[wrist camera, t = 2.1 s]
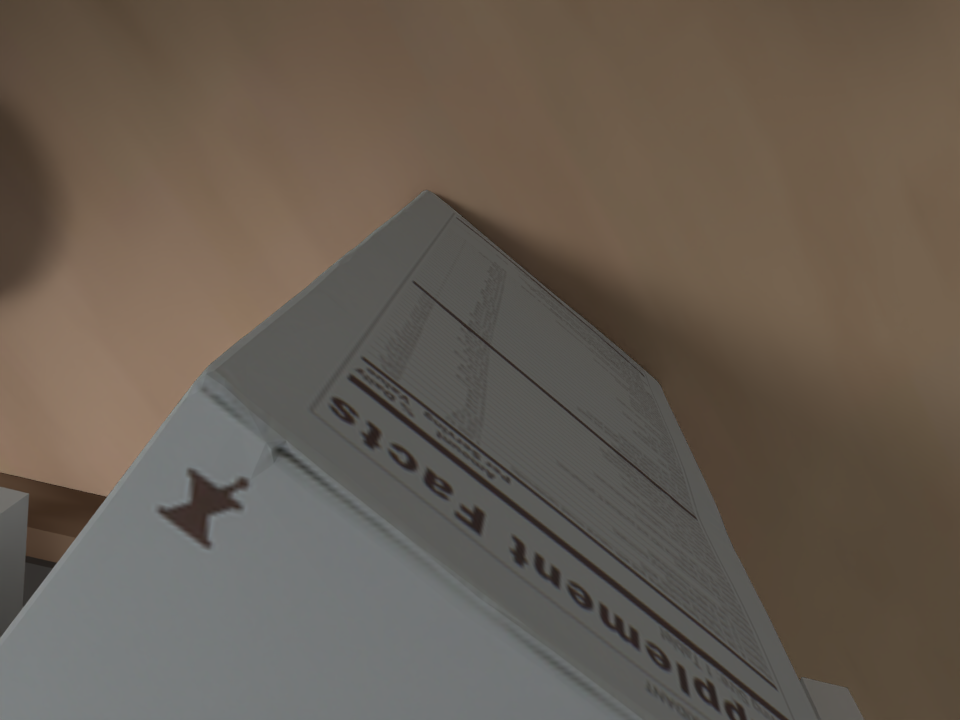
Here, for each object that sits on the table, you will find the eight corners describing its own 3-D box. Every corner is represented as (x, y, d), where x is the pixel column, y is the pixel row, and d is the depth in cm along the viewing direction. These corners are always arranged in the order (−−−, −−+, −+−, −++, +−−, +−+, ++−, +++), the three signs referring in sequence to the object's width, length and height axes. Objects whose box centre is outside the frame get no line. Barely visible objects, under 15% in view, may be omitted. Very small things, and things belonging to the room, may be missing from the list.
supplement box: (241, 409, 25) (-278, 927, 9) (424, 178, 23) (152, 332, 7) (476, 589, 27) (383, 1320, 10) (673, 389, 24) (946, 941, 8)
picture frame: (-167, 805, 31) (-232, 869, 29) (-180, 431, 26) (-260, 467, 24) (236, 898, 31) (208, 971, 29) (296, 540, 26) (269, 588, 24)
